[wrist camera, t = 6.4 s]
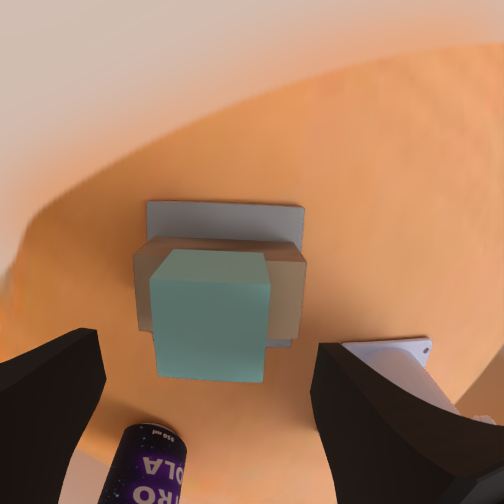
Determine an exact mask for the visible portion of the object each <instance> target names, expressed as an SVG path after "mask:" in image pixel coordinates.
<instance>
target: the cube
mask: <svg viewBox="0 0 504 504" xmlns="http://www.w3.org/2000/svg"><path fill="white" fill-rule="evenodd" d="M149 281H150V297H151V311H152V324H153V335H154V345H155V354H156V363H157V371H158V376H162V377H172V378H183V379H195V380H209V381H228V382H262V383H263V372H264V361H265V350H266V338H267V326H268V314H269V302H270V289H271V284H270V279H269V275H268V271H267V267H266V263H265V258H264V254H263V253H255V252H232V251H209V250H186V249H173V250H172V252H171V253H170V254H169V255H168V257H167V258H166V259H165V260H164V261H163V263H162V264H161V265H160V266H159V268H158V269H157V270H156V271H155V273H154V274H153V275H152V276H151V278H150V279H149Z"/></svg>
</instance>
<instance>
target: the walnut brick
mask: <svg viewBox="0 0 504 504" xmlns="http://www.w3.org/2000/svg"><path fill="white" fill-rule="evenodd" d="M173 249H186V250H209V251H232V252H255V253H263V254H264V258H265V263H266V267H267V271H268V275H269V279H270V284H271V289H270V302H269V314H268V326H267V338H266V339H298V334H299V326H300V318H301V310H302V302H303V293H304V285H305V276H306V266H307V262H306V260H305V259H304V257H303V256H302V254H301V253H300V251H299V250H298V248H297V247H296V245H295V244H294V242H278V241H256V240H234V239H210V238H185V237H159V236H155V237H154V238H152V239H151V240H150V241H149V242H147V243H146V244H145V245H144V246H143V247H141V248H140V249H139V250H138V251H137V252H135V253H134V254H133V267H134V282H135V295H136V307H137V317H138V327H139V331H145V332H153V324H152V311H151V297H150V281H149V279H150V278H151V276H152V275H153V274H154V273H155V271H156V270H157V269H158V268H159V266H160V265H161V264H162V263H163V261H164V260H165V259H166V258H167V257H168V255H169V254H170V253H171V252H172V250H173Z"/></svg>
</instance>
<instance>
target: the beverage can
mask: <svg viewBox="0 0 504 504" xmlns="http://www.w3.org/2000/svg"><path fill="white" fill-rule="evenodd" d="M186 454H187V448H186V446H185V444H184V442H183V441H182V440H181V439H180V438H179V437H178V436H177V435H176V434H175V433H174V432H173V431H172V430H170V429H169V428H167V427H165V426H162V425H160V424H156V423H142V424H135V425H132V426H130V427H128V428H127V429H126V430H125V431H124V433H123V435H122V438H121V441H120V443H119V446H118V448H117V451H116V454H115V456H114V459H113V462H112V464H111V467H110V470H109V473H108V475H107V478H106V481H105V484H104V487H103V489H102V492H101V495H100V498H99V501H98V504H179V499H180V492H181V486H182V479H183V473H184V467H185V460H186Z"/></svg>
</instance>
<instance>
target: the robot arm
mask: <svg viewBox="0 0 504 504" xmlns="http://www.w3.org/2000/svg"><path fill="white" fill-rule="evenodd" d="M432 344H433V341H432V340H431V339H430V338H428V337H427V338H416V339H404V340H389V341H372V342H349V343H343V344H339V343H338V342H337V343H319V348H318V353H317V359H316V364H315V370H314V375H313V380H312V385H311V390H310V395H311V402H312V408H313V414H314V418H315V422H316V425H317V428H318V434H319V436H320V438H321V441H322V444H323V447H324V450H325V453H326V457H327V460H328V463H329V466H330V469H331V473H332V477H333V481H334V486H335V492H336V497H337V503H338V504H504V426H500V425H497V424H496V423H495V422H494V421H493V420H492V419H491V418H490V417H489V416H480V417H479V416H478V415H475V416H474V417H473V418H472V419H470V418H466V417H463V416H461V414H460V413H459V412H458V410H457V409H456V408H455V406H454V405H453V404H452V403H451V401H450V400H449V399H448V397H447V396H446V395H445V394H444V392H443V391H442V390H441V388H440V387H439V386H438V385H437V383H436V382H435V381H434V380H433V378H432V377H431V376H430V375H429V374H428V372H427V371H426V370H425V369H424V368H425V365H426V362H427V359H428V356H429V353H430V350H431V347H432ZM425 348H426V350H424V349H425ZM105 382H106V374H105V370H104V365H103V361H102V356H101V351H100V346H99V340H98V335H97V330H95V329H87V328H79V329H76V330H73V331H71V332H68V333H66V334H64V335H62V336H60V337H58V338H56V339H54V340H52V341H50V342H47V343H45V344H43V345H41V346H39V347H37V348H35V349H33V350H31V351H28V352H26V353H24V354H22V355H19V356H17V357H15V358H13V359H10V360H8V361H5V362H3V363H0V504H58V501H59V497H60V493H61V489H62V485H63V481H64V478H65V475H66V471H67V468H68V465H69V462H70V459H71V457H72V454H73V452H74V450H75V448H76V446H77V444H78V442H79V440H80V438H81V436H82V434H83V432H84V430H85V428H86V426H87V424H88V422H89V420H90V418H91V416H92V414H93V412H94V410H95V408H96V406H97V404H98V402H99V400H100V397H101V394H102V391H103V388H104V385H105Z"/></svg>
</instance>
